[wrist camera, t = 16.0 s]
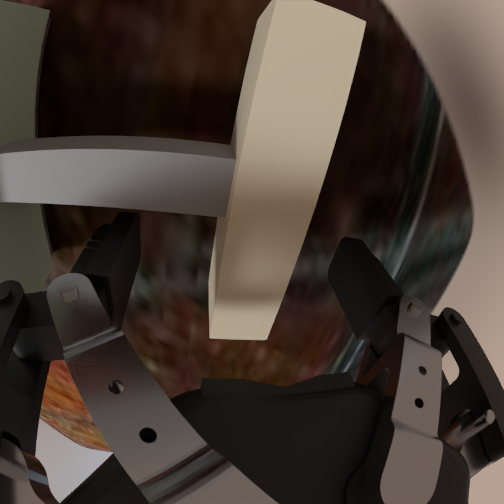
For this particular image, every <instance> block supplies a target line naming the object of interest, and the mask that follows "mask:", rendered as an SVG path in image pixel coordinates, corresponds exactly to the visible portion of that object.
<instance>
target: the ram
mask: <svg viewBox="0 0 504 504" xmlns="http://www.w3.org/2000/svg"><path fill="white" fill-rule="evenodd" d="M49 13H50V10H47V9H43V8H38V7H34V6H30V5H25V4H19V3H14V2H8V1H0V283H1V282H4V281H7V280H15V281H17V282H19V283H20V284H21V285H22V287H23V290H24V292H25V294H27V293H35V292H40V290H41V288H42V286H43V285H44V283H45V281H46V279H47V278H48V276H49V274H50V273H51V271H52V269H53V268H54V265H53V261H52V258H51V254H50V250H49V245H48V241H47V237H46V232H45V227H44V222H43V216H42V210H41V204H40V203H45V204H65V205H83V206H98V207H113V208H126V209H139V210H150V211H162V212H173V213H183V214H193V215H203V216H213V217H218V220H217V226H216V233H215V239H214V246H213V253H212V260H211V267H210V275H209V333H210V338H215V339H239V340H267V337H268V335H269V332H270V330H271V327H272V325H273V322H274V320H275V317H276V315H277V312H278V309H279V307H280V304H281V302H282V299H283V296H284V294H285V291H286V288H287V286H288V283H289V280H290V278H291V275H292V272H293V269H294V267H295V264H296V261H297V258H298V256H299V253H300V250H301V247H302V244H303V241H304V239H305V236H306V233H307V230H308V227H309V224H310V221H311V218H312V215H313V212H314V209H315V206H316V203H317V200H318V197H319V194H320V191H321V188H322V184H323V181H324V178H325V175H326V172H327V169H328V165H329V162H330V159H331V155H332V152H333V149H334V145H335V142H336V139H337V135H338V132H339V128H340V125H341V121H342V118H343V114H344V110H345V107H346V103H347V99H348V96H349V92H350V88H351V84H352V80H353V76H354V72H355V68H356V64H357V60H358V56H359V52H360V48H361V43H362V39H363V34H364V30H365V25H366V21H363V20H361V19H359V18H357V17H355V16H352V15H350V14H348V13H345V12H343V11H340V10H338V9H335V8H333V7H330V6H327V5H325V4H322V3H319V2H316V1H313V0H272V1H271V2H270V4H269V5H268V6H267V8H266V9H265V10H264V12H263V13H262V15H261V16H260V17H259V19H258V21H257V25H256V29H255V33H254V37H253V41H252V45H251V50H250V54H249V58H248V62H247V67H246V71H245V76H244V80H243V85H242V90H241V94H240V99H239V104H238V109H237V114H236V119H235V124H234V129H233V134H232V139H231V144H230V145H227V144H219V143H211V142H202V141H193V140H183V139H171V138H157V137H138V136H67V137H49V138H37V139H35V97H36V85H37V75H38V67H39V60H40V54H41V48H42V42H43V38H44V33H45V28H46V24H47V20H48V16H49Z"/></svg>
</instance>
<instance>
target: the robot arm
mask: <svg viewBox="0 0 504 504" xmlns="http://www.w3.org/2000/svg"><path fill="white" fill-rule="evenodd" d="M140 253H141V246H140V216H139V213H132V212H119V213H118V214H117V216H116V217H115V219H114V221H113V222H112V224H104V225H102V226H101V227H100V228H98V229H97V230H96V231H95V232H94V233H93V235H92V237H91V238H90V241H88V243H87V245H86V246H85V248H84V250H83V251H82V253H81V255H80V256H79V258H78V260H77V262H76V263H75V265H74V267H73V269H72V271H71V272H70V273H68V274H64V275H61V276H59V277H58V278H56V279H55V280H53V281H52V282H51V284H50V285H49V287H48V289H47V291H44V292H35V293H27V294H25V292H24V290H23V287H22V285H21V284H20V283H19V282H17V281H15V280H7V281H4V282H1V283H0V504H468V497H469V485H470V478H472V477H473V476H474V475H475V474H477V473H478V472H479V471H480V470H482V469H483V468H485V467H487V466H488V465H490V464H492V463H494V462H496V461H497V460H499V459H501V458H502V457H504V390H503V388H502V386H501V383H500V381H499V379H498V377H497V375H496V374H495V372H494V370H493V368H492V366H491V364H490V362H489V360H488V358H487V357H486V355H485V353H484V351H483V349H482V348H481V346H480V344H479V343H478V341H477V339H476V338H475V336H474V334H473V333H472V331H471V329H470V328H469V326H468V325H467V323H466V322H465V320H464V318H463V317H462V316H461V315H460V314H459V313H458V312H457V311H455V310H454V309H452V308H448V307H447V308H444V310H443V311H442V312H441V314H440V315H439V316H434V315H431V314H430V313H429V311H428V309H427V307H426V306H425V305H424V304H423V303H422V302H421V301H420V300H418V299H417V298H415V297H412V296H409V295H405V296H404V295H403V293H402V292H401V290H400V289H399V287H398V286H397V285H396V283H395V282H394V280H393V279H392V277H391V276H390V275H389V273H388V272H387V270H386V269H384V266H383V265H382V264H381V262H380V261H379V260H378V259H377V258H376V257H375V256H374V255H373V254H372V253H371V251H370V250H369V249H368V247H367V246H366V245H365V243H364V242H363V241H362V240H361V239H356V238H349V237H344V238H342V239H341V241H340V243H339V245H338V248H337V250H336V253H335V255H334V257H333V260H332V262H331V264H330V267H329V270H328V278H329V282H330V284H331V286H332V288H333V290H334V292H335V294H336V296H337V298H338V300H339V302H340V304H341V306H342V308H343V311H344V313H345V315H346V317H347V319H348V321H349V323H350V326H351V328H352V330H353V332H354V334H355V336H356V339H357V340H366V339H369V340H370V343H369V344H368V345H367V347H366V350H365V353H364V356H363V360H362V363H361V366H360V370H359V373H358V376H357V379H356V381H355V382H353V379H352V377H351V374H350V372H344V373H336V374H327V375H318V376H316V377H313V378H310V379H307V380H305V381H302V382H299V383H296V384H293V385H290V386H285V387H282V386H276V385H270V384H265V383H260V382H255V381H250V380H245V379H212V378H202V381H201V389H196V390H192V391H189V392H185V393H182V394H180V395H178V396H175V397H174V398H172V399H170V400H169V399H168V397H167V396H166V395H165V393H164V392H163V391H162V389H161V388H160V387H159V385H158V384H157V383H156V381H155V380H154V379H153V377H152V376H151V374H150V373H149V372H148V370H147V369H146V367H145V366H144V364H143V363H142V361H141V360H140V358H139V357H138V355H137V354H136V352H135V351H134V349H133V348H132V346H131V345H130V343H129V341H128V340H127V338H126V337H125V335H124V334H123V332H122V331H121V326H122V322H123V318H124V314H125V311H126V307H127V303H128V300H129V296H130V293H131V289H132V286H133V282H134V279H135V276H136V272H137V269H138V266H139V262H140ZM449 350H450V351H451V353H452V355H453V357H454V358H455V360H456V362H457V364H458V366H459V376H458V378H457V379H456V380H455V381H454V382H453V383H452V384H451V385H449V383H448V381H447V379H446V377H445V374H444V372H443V370H442V357H443V356H444V355H445V354H446V353H447V352H448V351H449ZM12 351H13V352H12ZM11 354H12V355H11ZM10 357H11V358H10ZM64 359H65V361H66V364H67V366H68V369H69V371H70V373H71V376H72V378H73V380H74V382H75V385H76V387H77V389H78V391H79V393H80V395H81V397H82V399H83V401H84V403H85V405H86V407H87V409H88V411H89V413H90V415H91V417H92V419H93V420H94V422H95V424H96V426H97V427H98V429H99V431H100V433H101V434H102V436H103V438H104V439H105V441H106V442H107V444H108V446H109V447H110V449H111V450H112V452H113V454H112V455H111V456H110V457H109V458H108V459H107V460H106V461H105V462H104V463H103V464H102V465H100V466H99V467H98V468H97V469H96V470H95V471H94V472H93V473H92V474H91V475H90V476H89V477H88V478H87V479H86V480H85V481H84V482H82V484H80V485H79V486H78V487H77V488H76V489H75V490H74V491H73V492H72V493H71V494H69V495H68V496H67V497H66V498H65V499H64V500H63V501H62V502H61V503H59V502H57V500H56V499H55V498H54V496H53V495H52V493H51V491H50V488H49V484H48V478H47V474H46V471H45V469H44V467H43V465H42V464H41V463H40V461H39V460H38V459H37V458H36V457H35V451H36V440H37V431H38V423H39V416H40V410H41V404H42V399H43V393H44V389H45V384H46V379H47V375H48V371H49V367H50V363H51V361H54V360H64ZM9 360H10V361H9ZM8 363H9V364H8ZM7 366H8V367H7ZM470 410H471V411H470Z"/></svg>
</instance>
